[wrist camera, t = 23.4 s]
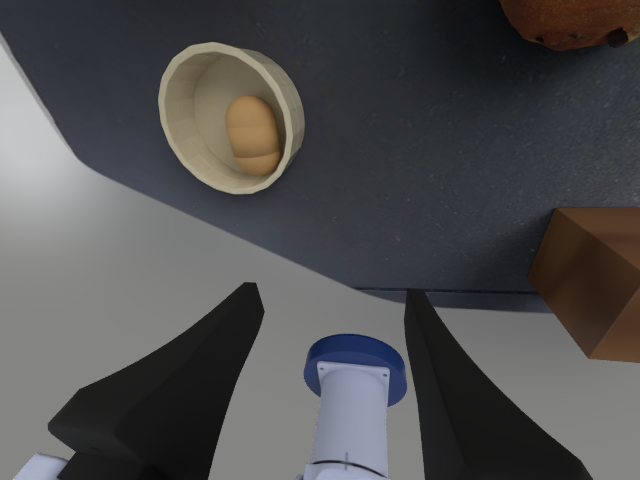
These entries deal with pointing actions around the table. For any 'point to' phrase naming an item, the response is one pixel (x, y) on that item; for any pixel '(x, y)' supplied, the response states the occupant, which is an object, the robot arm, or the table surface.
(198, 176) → the bowl
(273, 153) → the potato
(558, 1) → the bread roll
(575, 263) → the block
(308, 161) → the table surface
